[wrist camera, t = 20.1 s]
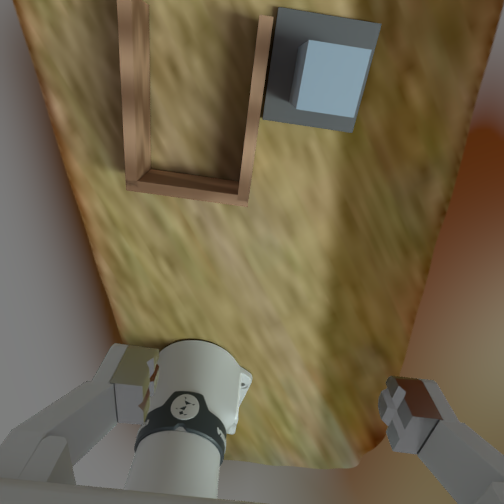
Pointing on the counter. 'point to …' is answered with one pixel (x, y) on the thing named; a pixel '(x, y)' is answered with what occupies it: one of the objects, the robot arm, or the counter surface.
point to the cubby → (138, 116)
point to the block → (328, 78)
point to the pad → (285, 54)
